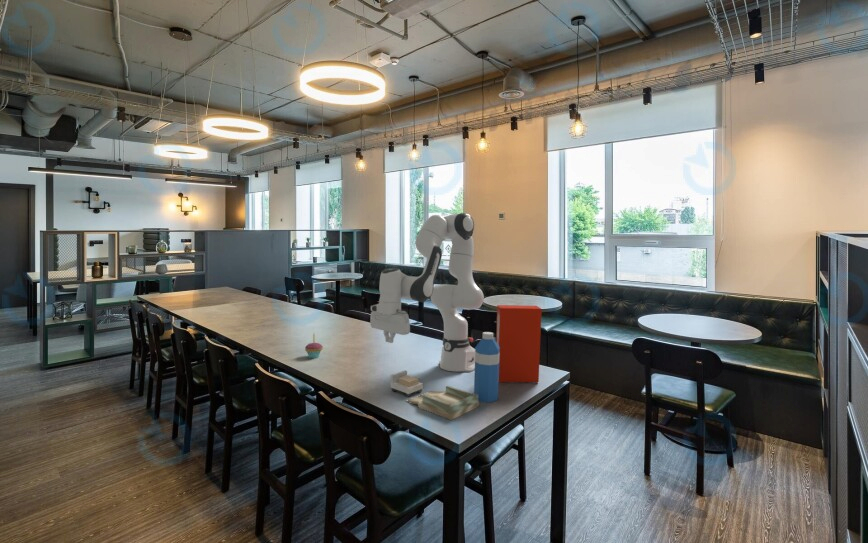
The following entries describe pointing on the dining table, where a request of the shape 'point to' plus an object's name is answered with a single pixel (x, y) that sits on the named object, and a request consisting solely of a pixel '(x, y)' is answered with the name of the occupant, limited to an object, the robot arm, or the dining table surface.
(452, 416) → the dock
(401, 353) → the dining table surface
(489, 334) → the water bottle
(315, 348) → the cupcake
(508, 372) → the red box
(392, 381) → the cart
